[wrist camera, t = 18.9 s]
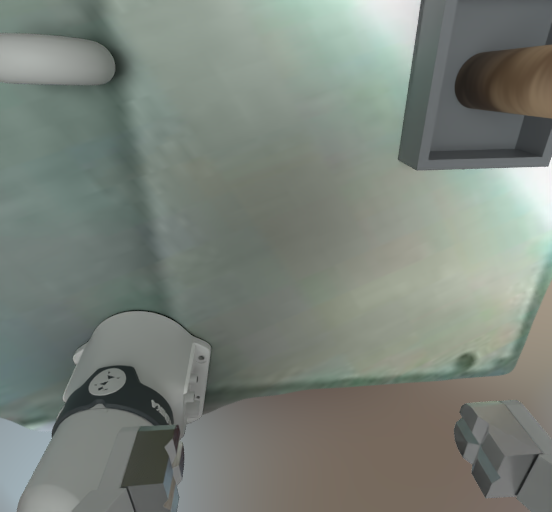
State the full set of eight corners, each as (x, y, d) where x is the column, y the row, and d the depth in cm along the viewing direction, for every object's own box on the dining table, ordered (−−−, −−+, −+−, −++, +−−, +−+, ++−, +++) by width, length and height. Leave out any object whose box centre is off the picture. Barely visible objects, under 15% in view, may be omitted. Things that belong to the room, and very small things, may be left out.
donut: (126, 43, 33) (83, 33, 25) (132, 84, 35) (93, 89, 26) (14, 39, 33) (-72, 27, 24) (25, 81, 34) (-52, 84, 25)
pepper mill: (496, 108, 38) (623, 123, 25) (449, 108, 37) (555, 122, 25) (511, 52, 35) (659, 37, 23) (461, 51, 35) (585, 35, 22)
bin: (515, 156, 41) (548, 166, 37) (398, 159, 40) (416, 170, 36) (566, -15, 34) (614, -28, 29) (423, -15, 33) (450, -29, 29)
